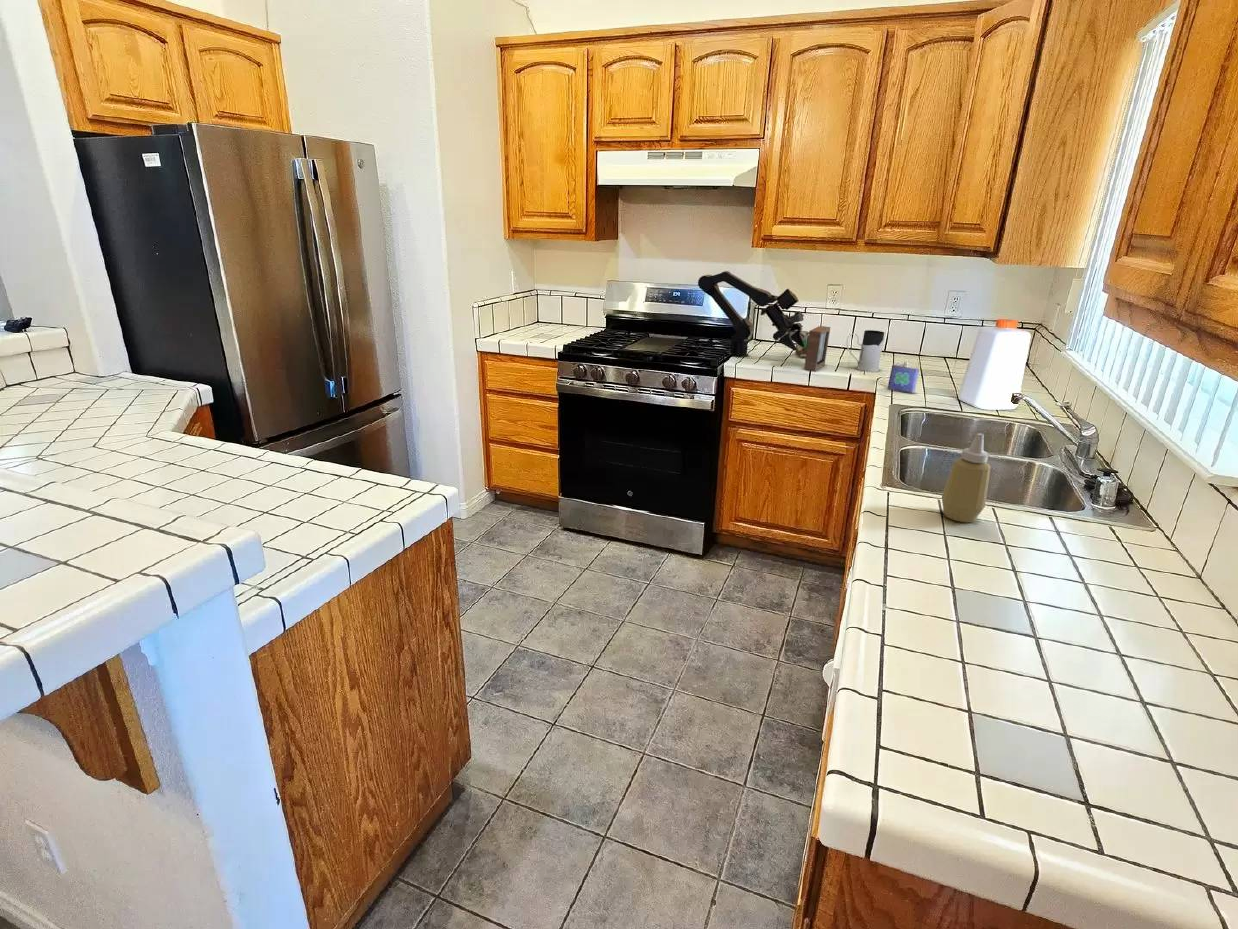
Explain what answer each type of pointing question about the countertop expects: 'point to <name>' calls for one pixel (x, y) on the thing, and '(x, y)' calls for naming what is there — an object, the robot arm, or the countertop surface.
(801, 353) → the food container
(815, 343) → the window frame
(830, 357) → the countertop surface
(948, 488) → the squeeze bottle
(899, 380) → the flask
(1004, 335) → the plastic bottle
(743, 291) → the robot arm
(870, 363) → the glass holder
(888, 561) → the countertop surface
